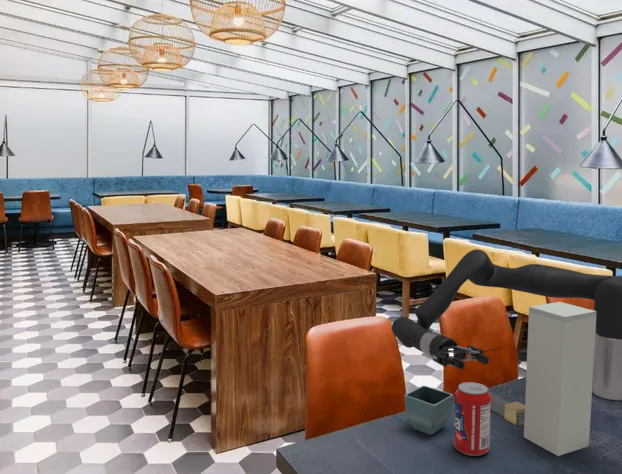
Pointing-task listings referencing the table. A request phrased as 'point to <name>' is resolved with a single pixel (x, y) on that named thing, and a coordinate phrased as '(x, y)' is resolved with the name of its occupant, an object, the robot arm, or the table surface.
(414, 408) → the flower pot
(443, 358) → the robot arm
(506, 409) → the steel handle bar
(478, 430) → the soda can
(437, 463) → the table surface
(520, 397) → the table surface
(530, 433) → the sage pedestal
